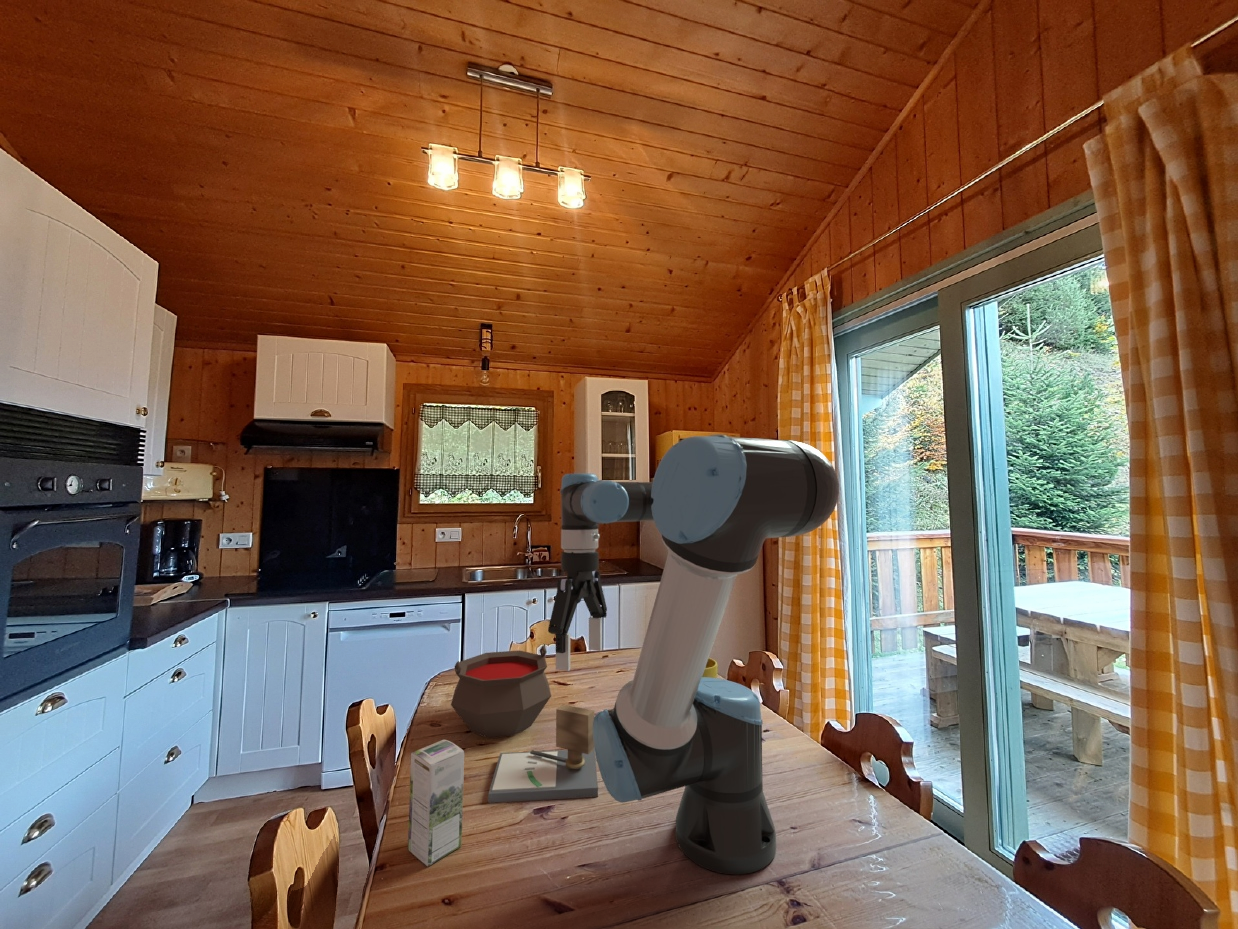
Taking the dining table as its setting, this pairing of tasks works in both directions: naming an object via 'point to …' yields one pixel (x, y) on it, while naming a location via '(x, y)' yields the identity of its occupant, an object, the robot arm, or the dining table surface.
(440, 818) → the syrup box
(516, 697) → the brown soup pot
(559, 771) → the tuner board
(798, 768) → the dining table surface
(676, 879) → the dining table surface
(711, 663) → the plant pot
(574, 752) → the wooden pointer lever
